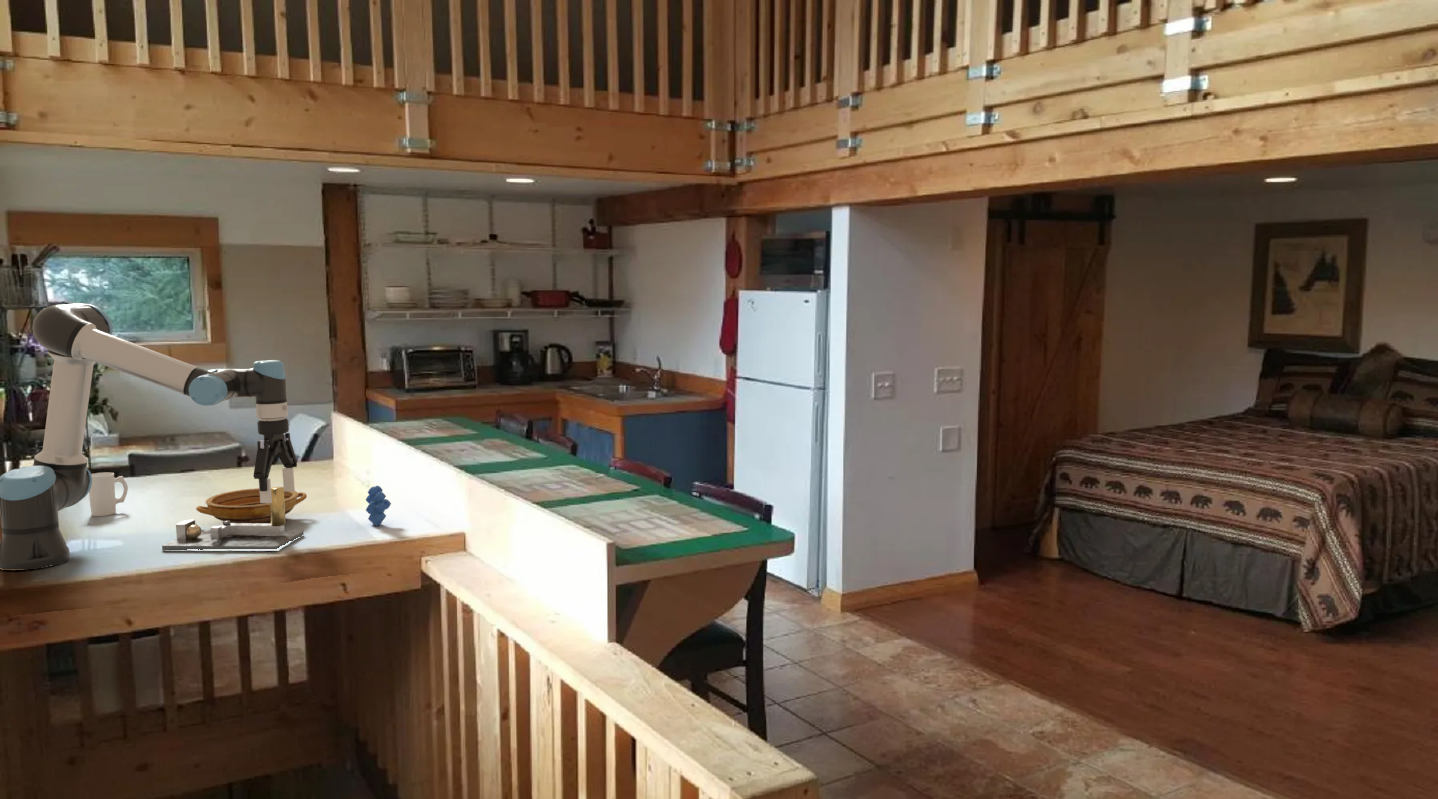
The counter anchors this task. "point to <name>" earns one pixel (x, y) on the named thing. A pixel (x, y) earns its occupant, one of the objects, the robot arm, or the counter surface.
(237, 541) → the base
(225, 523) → the lever
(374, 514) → the grapes
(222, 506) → the ceramic bowl
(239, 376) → the robot arm
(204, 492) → the counter surface
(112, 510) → the mug
